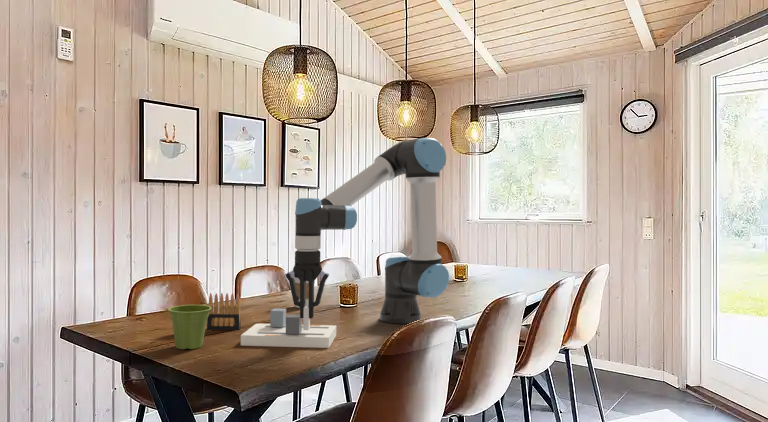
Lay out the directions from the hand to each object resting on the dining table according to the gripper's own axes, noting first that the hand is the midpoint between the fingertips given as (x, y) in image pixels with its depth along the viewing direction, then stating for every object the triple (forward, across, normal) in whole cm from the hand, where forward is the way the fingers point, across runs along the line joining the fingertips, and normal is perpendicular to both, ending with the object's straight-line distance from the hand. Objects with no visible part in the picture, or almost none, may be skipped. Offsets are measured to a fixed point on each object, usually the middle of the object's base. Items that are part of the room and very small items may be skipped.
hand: (306, 329), depth 162 cm
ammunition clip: (+5, +31, -17) cm, 35 cm away
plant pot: (+5, +33, +6) cm, 34 cm away
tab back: (+1, +11, -9) cm, 14 cm away
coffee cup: (+5, +12, -59) cm, 60 cm away
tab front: (+1, +4, 0) cm, 4 cm away
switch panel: (+5, +6, -5) cm, 9 cm away
